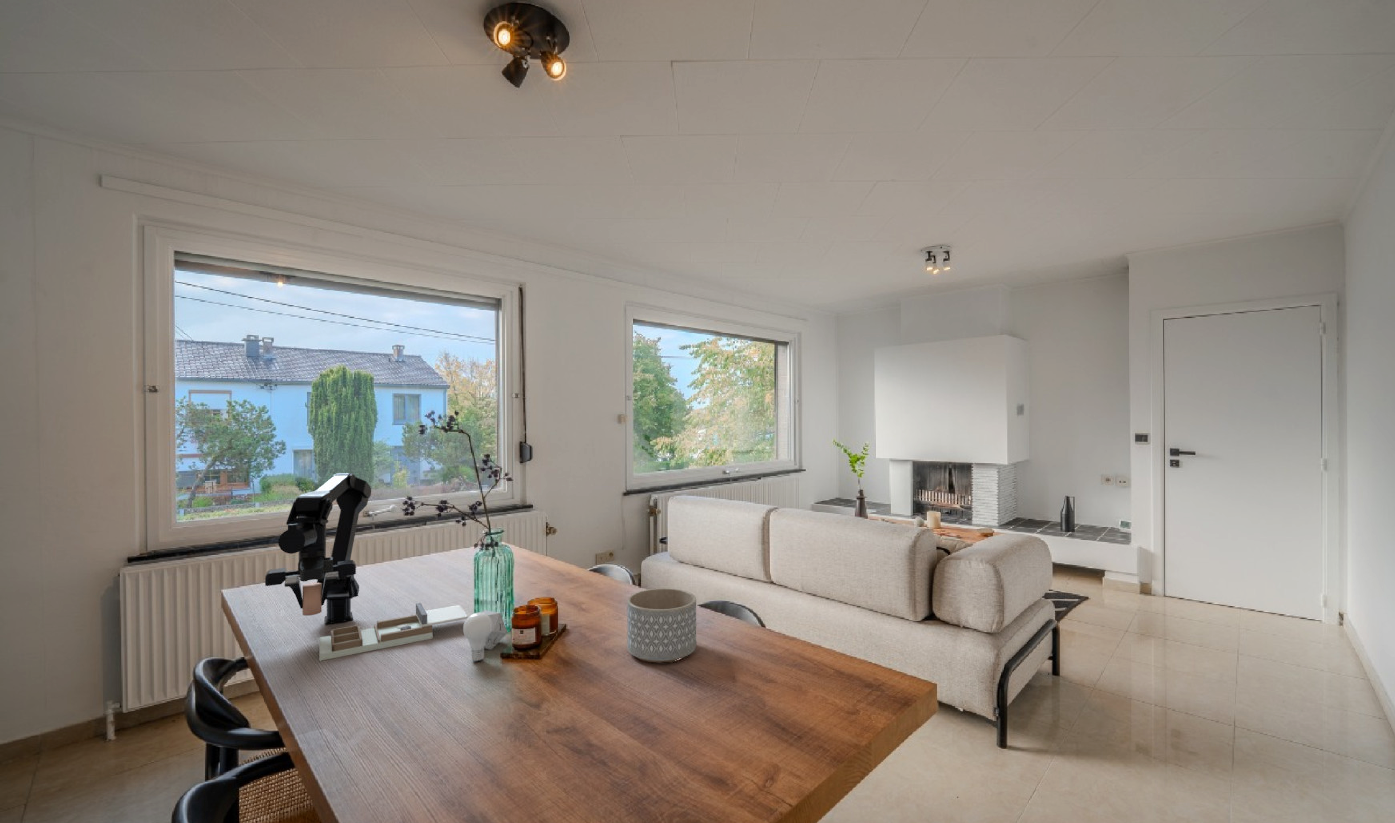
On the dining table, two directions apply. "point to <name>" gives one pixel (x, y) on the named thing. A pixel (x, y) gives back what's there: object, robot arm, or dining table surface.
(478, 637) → the lightbulb
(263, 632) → the dining table surface
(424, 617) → the lid
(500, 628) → the die
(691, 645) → the planter
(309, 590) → the tan brown cylinder
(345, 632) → the board
